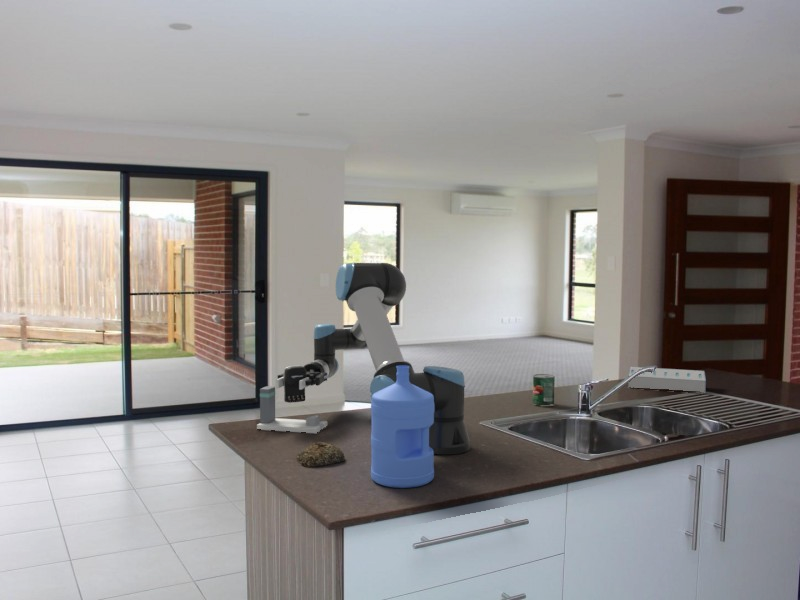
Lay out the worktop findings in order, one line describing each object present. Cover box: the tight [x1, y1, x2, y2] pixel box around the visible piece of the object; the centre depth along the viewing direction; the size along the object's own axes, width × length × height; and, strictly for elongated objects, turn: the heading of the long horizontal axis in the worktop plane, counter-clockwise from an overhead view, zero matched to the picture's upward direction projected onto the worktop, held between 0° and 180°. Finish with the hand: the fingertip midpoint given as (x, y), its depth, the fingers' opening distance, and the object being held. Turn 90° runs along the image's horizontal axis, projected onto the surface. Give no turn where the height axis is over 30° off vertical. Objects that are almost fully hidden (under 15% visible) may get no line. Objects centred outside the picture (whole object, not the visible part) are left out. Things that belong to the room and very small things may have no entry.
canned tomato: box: [532, 373, 556, 405], centre depth 257 cm, size 8×8×11 cm
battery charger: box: [283, 365, 306, 404], centre depth 220 cm, size 7×4×11 cm, turn 117°
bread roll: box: [295, 441, 346, 468], centre depth 187 cm, size 13×12×5 cm
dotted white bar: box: [627, 366, 707, 392], centre depth 292 cm, size 30×14×8 cm, turn 69°
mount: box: [256, 385, 328, 434], centre depth 221 cm, size 10×20×12 cm, turn 76°
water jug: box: [370, 365, 435, 489], centre depth 170 cm, size 16×16×28 cm
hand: (288, 384), depth 215 cm, fingers closed on battery charger, 7 cm apart
